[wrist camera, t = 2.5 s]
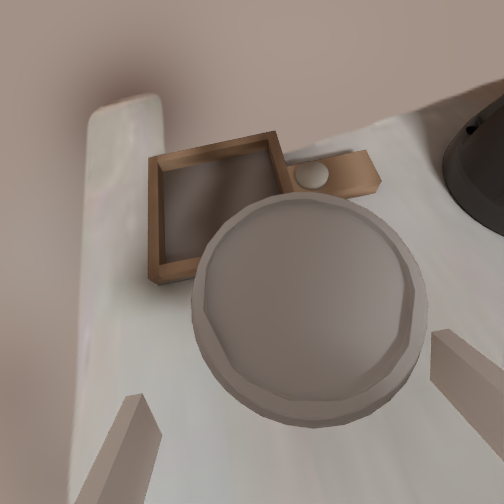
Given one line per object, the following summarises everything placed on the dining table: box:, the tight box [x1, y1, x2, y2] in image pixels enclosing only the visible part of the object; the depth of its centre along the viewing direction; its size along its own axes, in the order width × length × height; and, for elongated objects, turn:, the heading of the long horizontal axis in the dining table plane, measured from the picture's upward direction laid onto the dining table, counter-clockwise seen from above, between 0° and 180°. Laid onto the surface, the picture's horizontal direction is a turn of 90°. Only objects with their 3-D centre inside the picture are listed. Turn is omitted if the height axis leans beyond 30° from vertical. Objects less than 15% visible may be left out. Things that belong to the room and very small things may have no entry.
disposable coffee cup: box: [191, 192, 428, 428], centre depth 15 cm, size 10×10×12 cm
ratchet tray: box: [148, 131, 382, 285], centre depth 25 cm, size 22×14×2 cm, turn 100°
